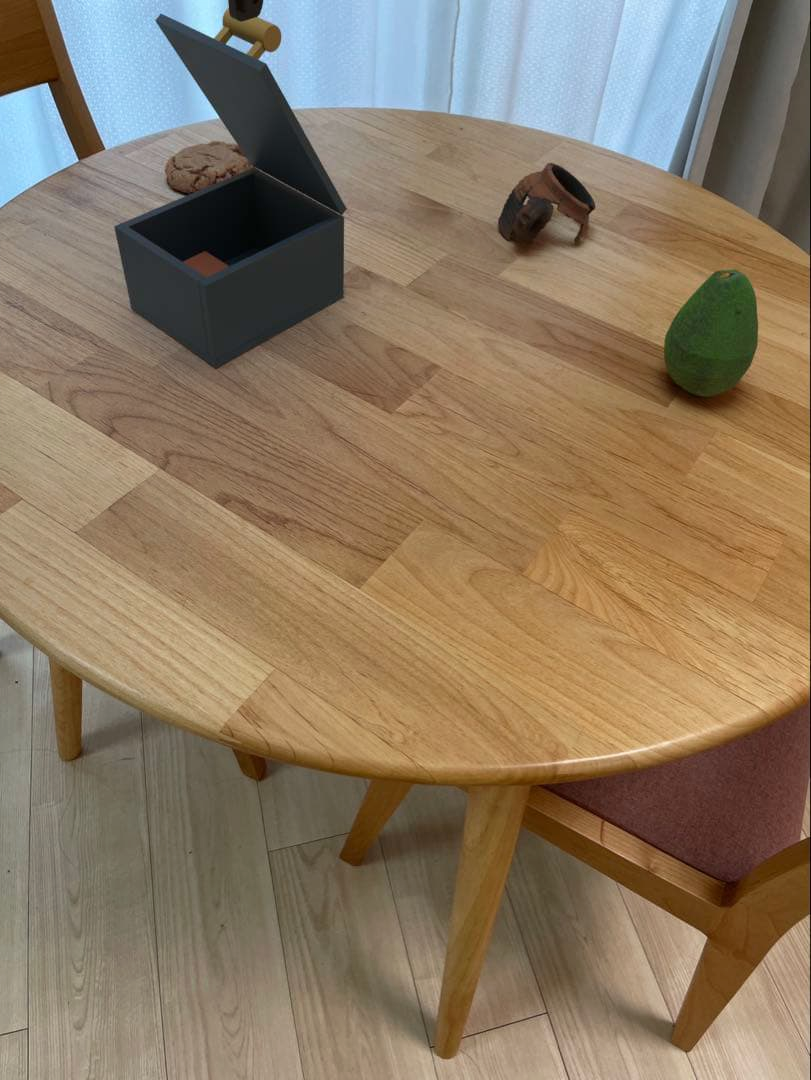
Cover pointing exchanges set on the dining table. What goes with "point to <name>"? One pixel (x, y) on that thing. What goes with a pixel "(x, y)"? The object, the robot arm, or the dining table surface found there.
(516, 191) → the pottery mug
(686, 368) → the avocado
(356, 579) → the dining table surface
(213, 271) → the block
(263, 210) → the chest
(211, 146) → the cookie
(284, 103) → the lid
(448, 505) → the dining table surface
